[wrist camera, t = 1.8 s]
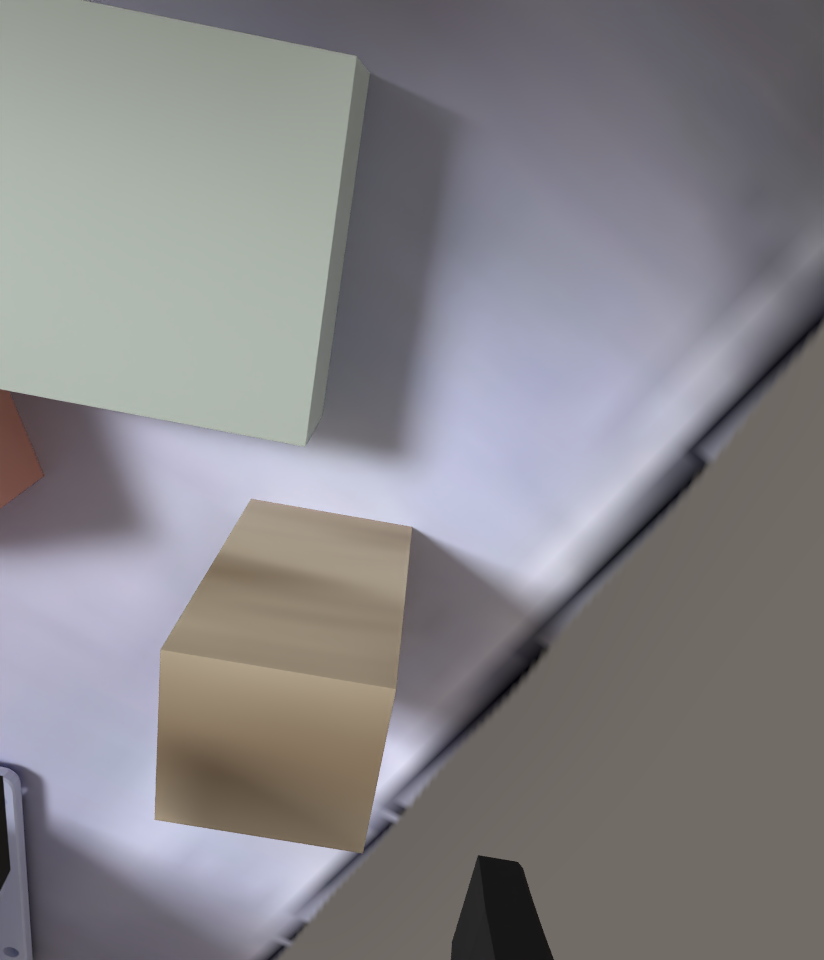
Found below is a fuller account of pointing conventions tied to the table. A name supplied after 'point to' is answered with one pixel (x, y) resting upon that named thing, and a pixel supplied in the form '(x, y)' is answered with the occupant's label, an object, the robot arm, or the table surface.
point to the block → (15, 453)
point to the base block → (172, 215)
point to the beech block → (284, 679)
